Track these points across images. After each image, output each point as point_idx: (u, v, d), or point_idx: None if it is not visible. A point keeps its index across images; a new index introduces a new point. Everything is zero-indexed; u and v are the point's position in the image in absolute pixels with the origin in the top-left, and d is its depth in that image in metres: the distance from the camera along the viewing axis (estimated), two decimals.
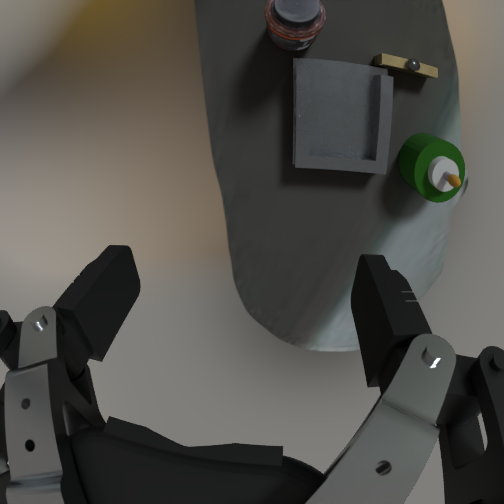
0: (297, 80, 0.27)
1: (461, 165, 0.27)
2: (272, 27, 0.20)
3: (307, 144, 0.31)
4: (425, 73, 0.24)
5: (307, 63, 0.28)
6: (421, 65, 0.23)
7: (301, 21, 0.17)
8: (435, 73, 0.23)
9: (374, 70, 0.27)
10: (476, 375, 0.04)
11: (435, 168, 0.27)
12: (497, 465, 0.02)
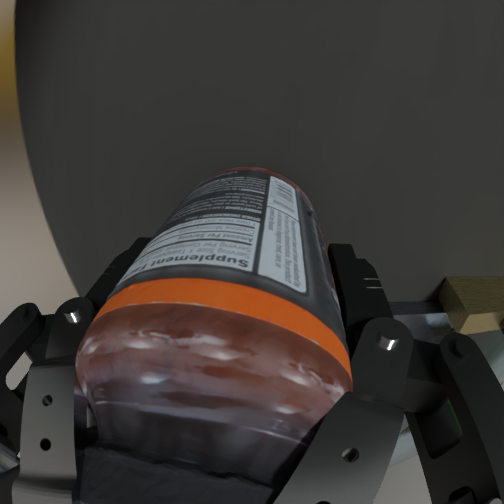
0: None
1: None
2: None
3: None
4: None
5: None
6: None
7: None
8: None
9: (434, 320, 0.13)
10: (439, 364, 0.05)
11: None
12: (476, 453, 0.03)
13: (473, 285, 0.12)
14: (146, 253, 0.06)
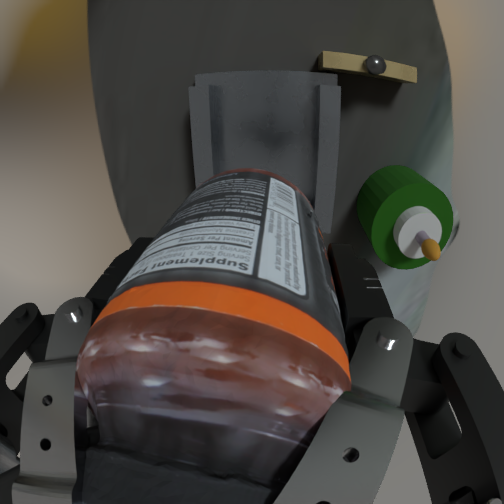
0: (191, 109, 0.20)
1: (447, 216, 0.20)
2: None
3: None
4: (396, 76, 0.17)
5: (214, 79, 0.20)
6: (390, 64, 0.16)
7: None
8: (413, 76, 0.16)
9: (316, 78, 0.19)
10: (439, 364, 0.05)
11: (403, 228, 0.20)
12: (476, 453, 0.03)
13: None
14: (146, 256, 0.06)
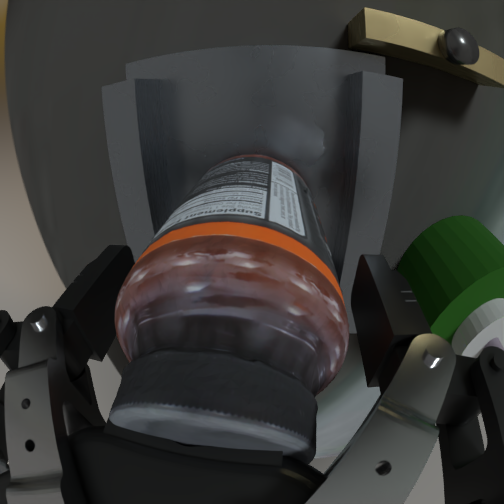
0: (108, 130, 0.10)
1: None
2: None
3: None
4: (487, 74, 0.07)
5: (157, 69, 0.10)
6: None
7: None
8: None
9: (346, 60, 0.09)
10: (476, 375, 0.04)
11: (474, 340, 0.10)
12: (497, 465, 0.02)
13: None
14: (177, 214, 0.07)
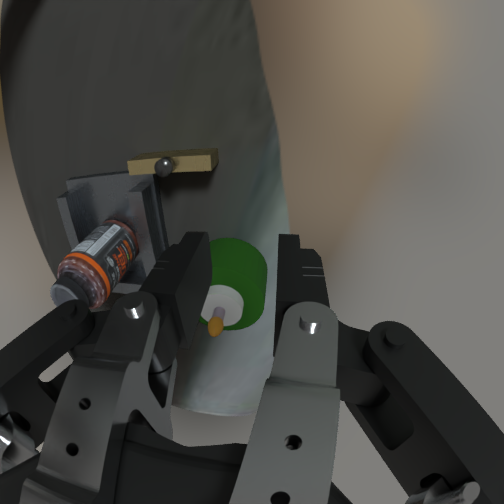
0: (61, 214, 0.26)
1: (254, 292, 0.26)
2: None
3: None
4: (190, 169, 0.23)
5: (76, 184, 0.27)
6: (182, 159, 0.23)
7: None
8: (207, 165, 0.23)
9: (137, 177, 0.26)
10: (372, 357, 0.05)
11: None
12: (434, 442, 0.03)
13: (153, 153, 0.25)
14: (73, 249, 0.24)
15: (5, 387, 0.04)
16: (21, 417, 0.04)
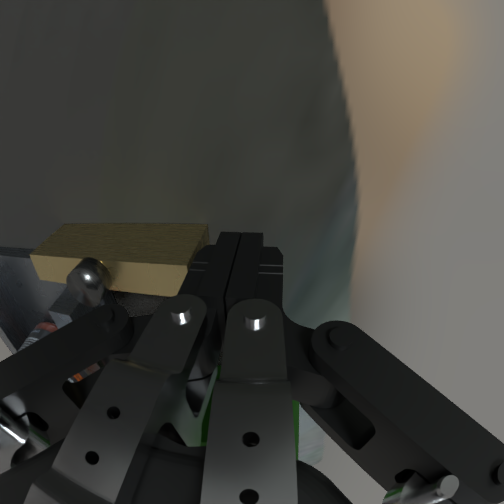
0: None
1: None
2: None
3: None
4: (144, 290, 0.10)
5: None
6: (123, 269, 0.09)
7: None
8: None
9: None
10: (319, 360, 0.05)
11: None
12: (399, 441, 0.03)
13: (78, 231, 0.11)
14: None
15: (25, 389, 0.04)
16: (40, 415, 0.05)
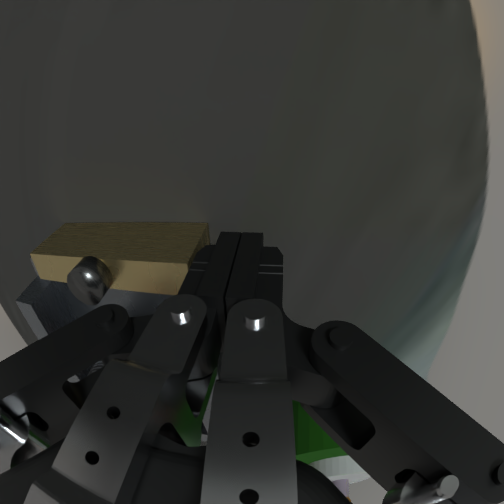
0: (31, 326, 0.12)
1: None
2: None
3: None
4: (145, 288, 0.10)
5: None
6: (124, 267, 0.09)
7: None
8: (181, 284, 0.09)
9: None
10: (319, 361, 0.05)
11: None
12: (399, 441, 0.03)
13: (79, 230, 0.11)
14: None
15: (25, 389, 0.04)
16: (40, 415, 0.05)
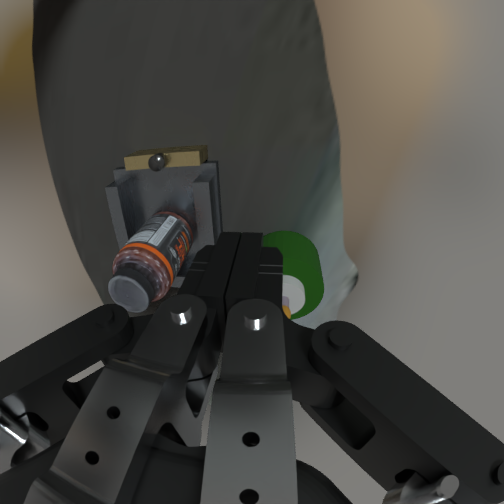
0: (109, 204, 0.27)
1: (316, 281, 0.27)
2: None
3: None
4: (181, 164, 0.25)
5: (126, 174, 0.28)
6: (173, 155, 0.25)
7: None
8: (196, 160, 0.25)
9: (198, 168, 0.27)
10: (319, 361, 0.05)
11: None
12: (399, 441, 0.03)
13: (147, 150, 0.27)
14: (130, 239, 0.25)
15: (25, 389, 0.04)
16: (40, 415, 0.05)
